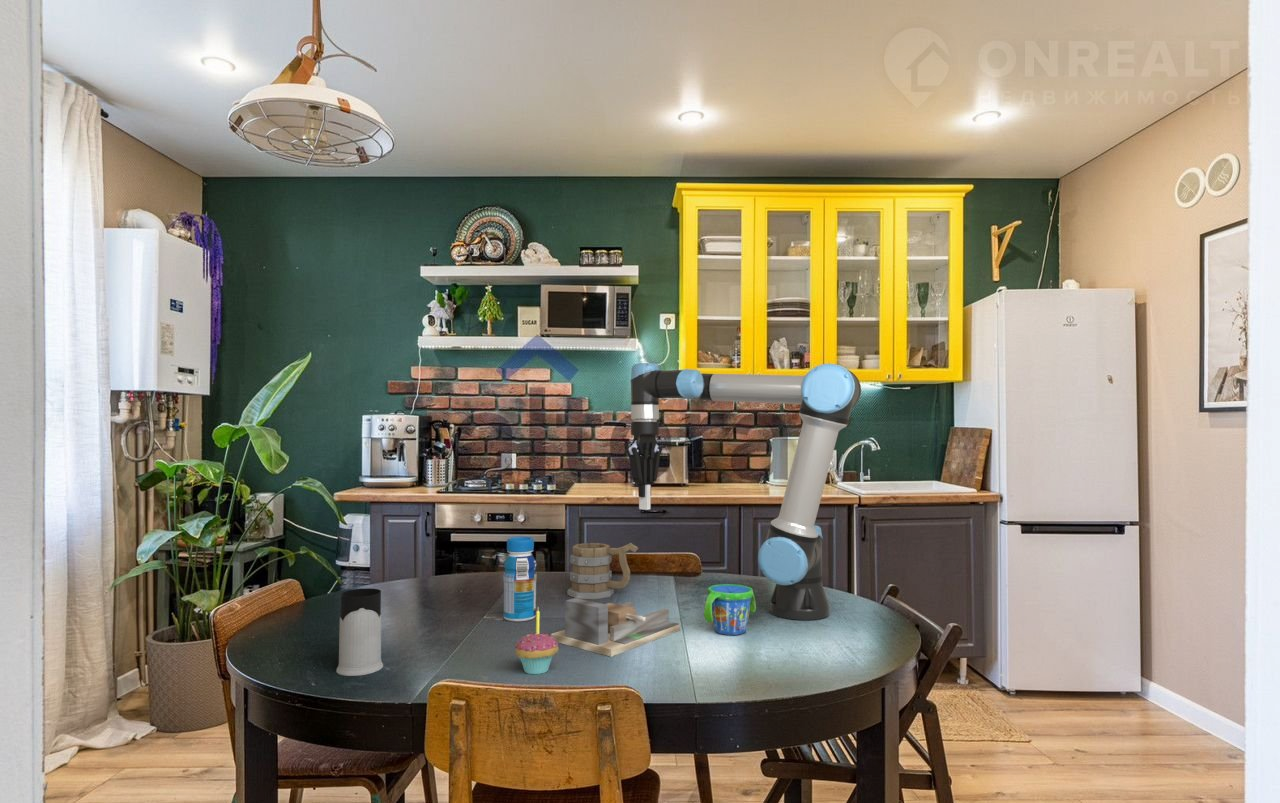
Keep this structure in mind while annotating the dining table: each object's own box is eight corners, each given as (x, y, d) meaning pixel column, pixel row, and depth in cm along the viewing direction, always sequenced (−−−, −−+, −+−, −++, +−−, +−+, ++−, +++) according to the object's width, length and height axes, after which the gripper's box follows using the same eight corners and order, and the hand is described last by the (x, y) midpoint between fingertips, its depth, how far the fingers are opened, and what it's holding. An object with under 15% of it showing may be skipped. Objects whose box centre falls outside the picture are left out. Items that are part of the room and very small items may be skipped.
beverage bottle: (496, 620, 177) (496, 539, 177) (514, 612, 184) (515, 535, 185) (525, 623, 173) (526, 541, 174) (542, 615, 181) (543, 537, 182)
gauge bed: (680, 630, 168) (680, 589, 168) (611, 656, 149) (611, 611, 149) (622, 617, 179) (622, 579, 180) (550, 640, 160) (551, 598, 160)
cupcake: (517, 663, 144) (517, 604, 145) (559, 662, 145) (559, 603, 145) (513, 678, 136) (513, 615, 136) (557, 677, 136) (558, 614, 137)
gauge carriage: (652, 632, 160) (652, 611, 160) (635, 638, 155) (635, 617, 155) (609, 622, 168) (609, 602, 168) (592, 627, 163) (592, 607, 163)
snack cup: (740, 621, 176) (740, 580, 176) (770, 632, 167) (770, 588, 167) (690, 631, 167) (690, 588, 167) (719, 643, 158) (719, 597, 159)
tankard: (563, 598, 199) (564, 545, 200) (575, 588, 212) (575, 538, 212) (633, 601, 196) (633, 547, 197) (641, 591, 208) (641, 540, 209)
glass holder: (336, 678, 136) (337, 599, 136) (335, 656, 149) (337, 584, 149) (384, 672, 139) (385, 595, 140) (380, 651, 152) (381, 580, 153)
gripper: (648, 421, 197) (648, 506, 196) (618, 420, 187) (618, 510, 186) (670, 421, 193) (670, 508, 192) (640, 420, 183) (640, 512, 182)
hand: (644, 509), depth 189 cm, fingers closed
